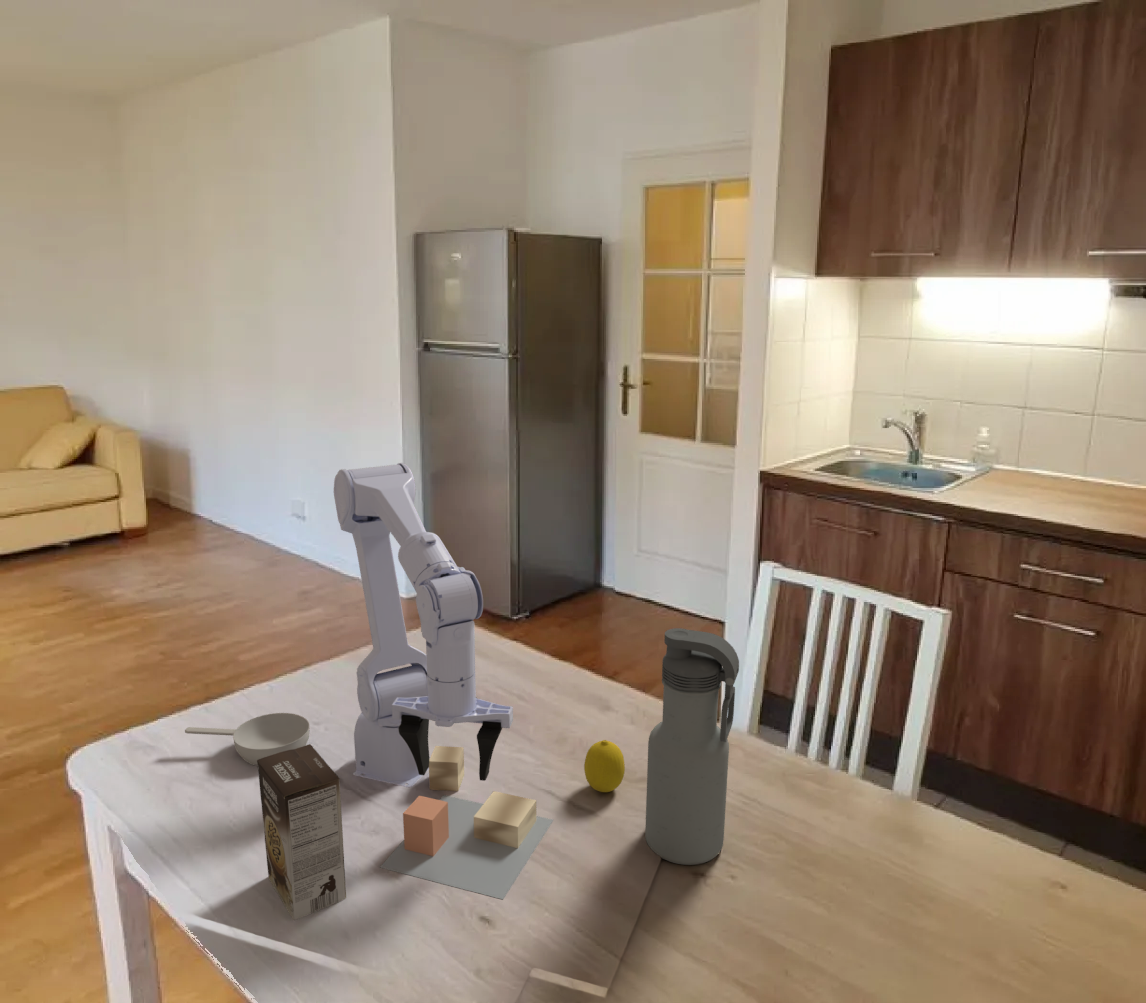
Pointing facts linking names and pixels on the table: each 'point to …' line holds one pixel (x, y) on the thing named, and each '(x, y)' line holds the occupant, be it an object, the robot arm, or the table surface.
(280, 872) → the coffee box
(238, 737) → the small pan
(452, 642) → the robot arm
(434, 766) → the birch block
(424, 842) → the terracotta block
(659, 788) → the water bottle
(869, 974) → the table surface
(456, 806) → the board
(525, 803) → the block
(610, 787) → the lemon
